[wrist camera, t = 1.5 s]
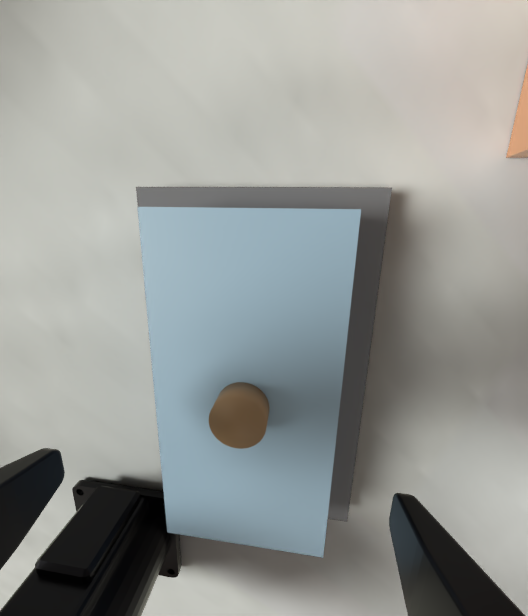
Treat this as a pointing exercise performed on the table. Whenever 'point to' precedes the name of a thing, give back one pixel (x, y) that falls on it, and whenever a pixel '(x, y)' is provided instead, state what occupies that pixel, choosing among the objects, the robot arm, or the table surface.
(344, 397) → the mat
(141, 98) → the table surface
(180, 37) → the table surface
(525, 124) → the orange open box
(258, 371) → the lid
